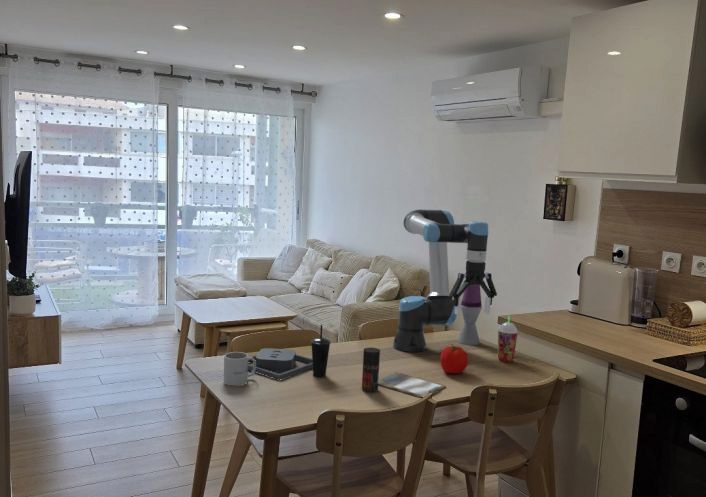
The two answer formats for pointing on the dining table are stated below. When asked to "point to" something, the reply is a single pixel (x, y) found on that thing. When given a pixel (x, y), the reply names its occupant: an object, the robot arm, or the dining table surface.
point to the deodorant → (370, 370)
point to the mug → (237, 368)
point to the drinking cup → (320, 355)
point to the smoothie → (507, 341)
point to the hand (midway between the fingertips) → (472, 313)
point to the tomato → (453, 359)
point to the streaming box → (276, 359)
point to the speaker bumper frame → (288, 373)
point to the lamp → (470, 315)
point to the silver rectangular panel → (409, 384)
